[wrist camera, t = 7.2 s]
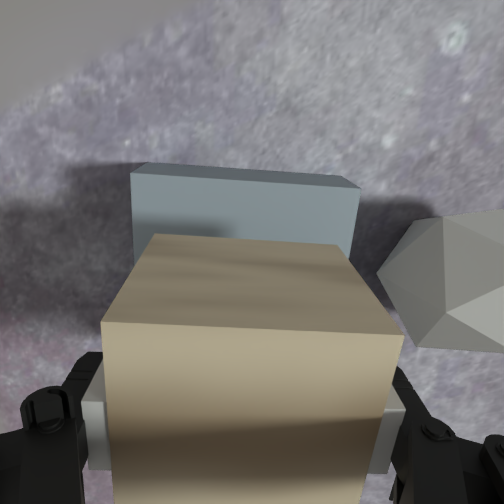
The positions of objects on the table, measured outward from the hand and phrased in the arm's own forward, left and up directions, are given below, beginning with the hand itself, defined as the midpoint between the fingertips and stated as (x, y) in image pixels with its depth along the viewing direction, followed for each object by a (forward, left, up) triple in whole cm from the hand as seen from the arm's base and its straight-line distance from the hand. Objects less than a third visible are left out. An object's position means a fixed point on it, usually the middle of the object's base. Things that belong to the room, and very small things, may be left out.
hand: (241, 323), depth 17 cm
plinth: (0, 0, -8) cm, 8 cm away
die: (+1, -13, -9) cm, 16 cm away
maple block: (0, 0, 0) cm, 0 cm away
